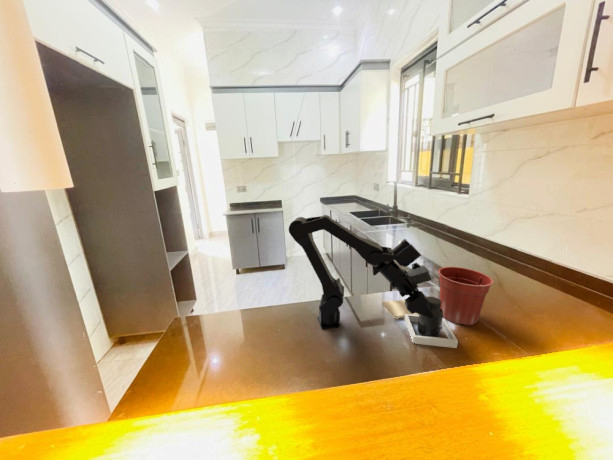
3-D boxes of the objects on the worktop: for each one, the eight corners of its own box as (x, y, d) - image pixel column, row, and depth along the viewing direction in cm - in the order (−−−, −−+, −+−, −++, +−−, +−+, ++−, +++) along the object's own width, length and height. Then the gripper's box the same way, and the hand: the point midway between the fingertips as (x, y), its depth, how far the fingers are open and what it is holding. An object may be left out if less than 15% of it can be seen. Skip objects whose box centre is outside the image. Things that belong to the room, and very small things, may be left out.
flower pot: (476, 308, 97) (483, 269, 94) (492, 333, 82) (501, 289, 78) (429, 301, 102) (434, 264, 98) (437, 324, 87) (443, 281, 83)
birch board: (394, 319, 90) (395, 316, 90) (381, 304, 100) (382, 302, 99) (425, 316, 92) (425, 313, 92) (409, 302, 102) (409, 299, 101)
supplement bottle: (442, 341, 79) (448, 306, 76) (419, 338, 80) (423, 304, 77) (436, 327, 85) (441, 295, 82) (415, 325, 87) (418, 293, 84)
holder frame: (412, 343, 78) (413, 336, 77) (404, 319, 90) (404, 313, 89) (456, 348, 76) (458, 341, 75) (442, 323, 88) (443, 317, 87)
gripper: (424, 270, 69) (462, 310, 70) (408, 249, 87) (439, 281, 87) (392, 294, 72) (429, 332, 73) (383, 269, 90) (413, 300, 91)
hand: (428, 308), depth 81 cm, fingers open, 9 cm apart
